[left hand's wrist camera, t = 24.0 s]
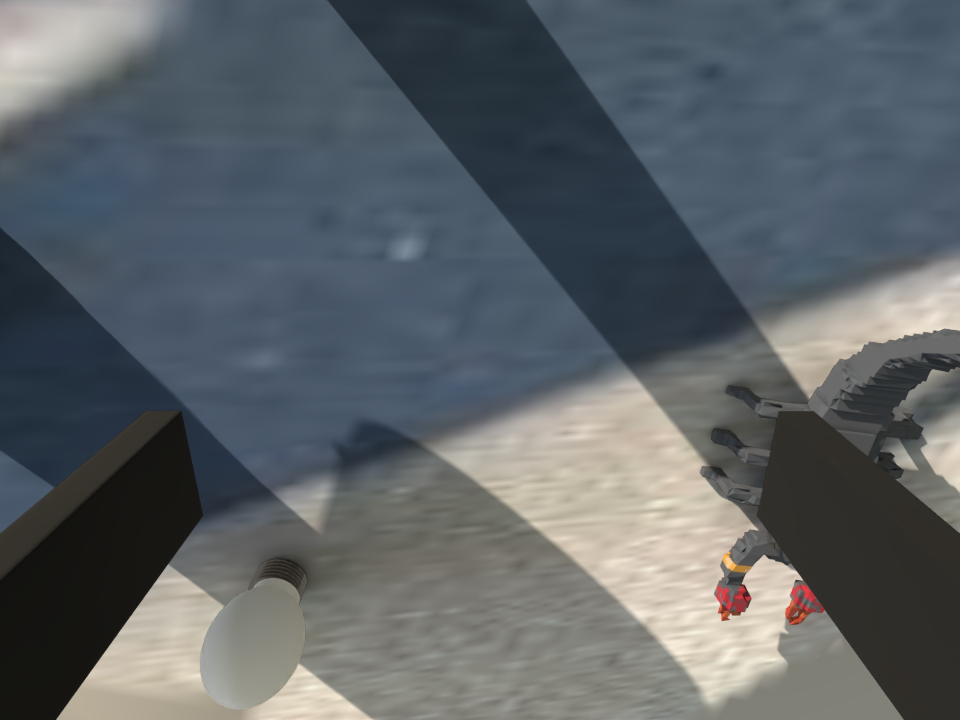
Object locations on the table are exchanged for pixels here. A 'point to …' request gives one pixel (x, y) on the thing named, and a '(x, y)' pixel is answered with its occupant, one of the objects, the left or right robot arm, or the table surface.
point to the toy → (853, 413)
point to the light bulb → (256, 638)
